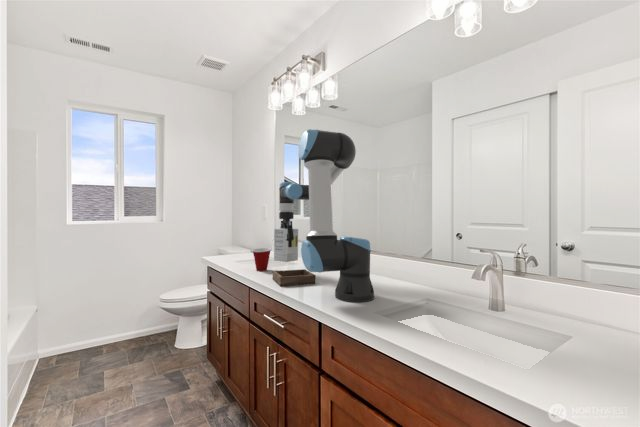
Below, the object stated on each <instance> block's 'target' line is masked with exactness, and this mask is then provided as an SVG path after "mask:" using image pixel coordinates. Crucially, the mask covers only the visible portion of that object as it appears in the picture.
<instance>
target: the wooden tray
mask: <svg viewBox="0 0 640 427" xmlns="http://www.w3.org/2000/svg"><path fill="white" fill-rule="evenodd" d="M272 280H273V281H274V282H275V283H276V285H278V286H279V287H281V288H282V287H289V286H290V287H291V286H294V287H295V286H303V285H316V274H314V273H313V272H310V271H308V270H307V269H306V268H304V269H287V270H286V269H285V270H273V271H272Z"/></svg>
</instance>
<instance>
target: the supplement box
mask: <svg viewBox="0 0 640 427" xmlns="http://www.w3.org/2000/svg"><path fill="white" fill-rule="evenodd" d="M273 230H274V234H273V237H274V239H273V261H274V262H285V263H289V262H290V263H291V262H295V261H299V260H298V259H299V229H298V228H293V236H294V240H293V241H292V254H287V241H286V239H287V234H288V230H287V229H280V228H274V229H273Z"/></svg>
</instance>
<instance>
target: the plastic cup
mask: <svg viewBox="0 0 640 427" xmlns="http://www.w3.org/2000/svg"><path fill="white" fill-rule="evenodd" d="M271 251H272V248H270V247H263V248H262V247H261V248H255V249H252V250H251V252H252V253H253V258H254V263H255V270H256V272H266V271H267V270H268V266H269V261H270V254H271Z"/></svg>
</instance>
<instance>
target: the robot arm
mask: <svg viewBox="0 0 640 427" xmlns="http://www.w3.org/2000/svg"><path fill="white" fill-rule="evenodd" d="M356 153H357V150H356V146H355V142H354V141H353V139H352V138H351V137H350V136H349V135H347V134H345V133H343V132H336V131H329V130H321V129H320V130H319V129H306V130H305V131H304V132H303V134H302V135H301V138H300V141H299V145H298V158H299V160H301V161H303V166H304V168H306V169H307V171H308V178H307V179H308V184H298V183H293V182H291V181H282V182H280V183H279V188H278V192H279V198H278V199H279V203H278V204H279V205H278V206H279V207H278V211H279V212H278V213H279V214H278V217H279V220H280V228H279V229H287V230H288V234H287V239H286V241H287V254H292V241H293V240H294V236H293V229H294V228H293V220H294V217H295V216H294V212H293V211H294V208H295V205H294V204H295V202H294V201H295V200H299V201H301V200H305V201H308V202H309V206H308V207H309V209H308V210H309V211H308V212H309V232H308V233H307V234H306V236H305V240H304V241H302V243H301V248H300V255H301V260H302V263H303V265H304V268H305V270H307V271H309V272H311V273H325V272H327V273H328V272H339V278H338V281H337V284H336V287H335V289H334V290H335V291H334V296H335V298H336V299H338V300H341V301H343V302H344V301H346V302H351V303H353V302H354V303H355V302H356V303H361V302H362V303H363V302H365V303H366V302H369V301H372V300H374V299H375V289H374V287H373V283H372V280H371V243H370V240H368V239H365V238H359V237H351V236H345V235H341V236H340V238H339V239H338V235H337V233H336V232H335V231H334V225H333V223H334V222H333V202H332V185H333V183H334V182H335V181H336V180H337V179H338V178H339V176H340V175H341V174H342V172H343V171H344V170H346V169H349V168H350V166H351V165H352V164H353V162H354V160H355V157H356Z"/></svg>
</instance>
